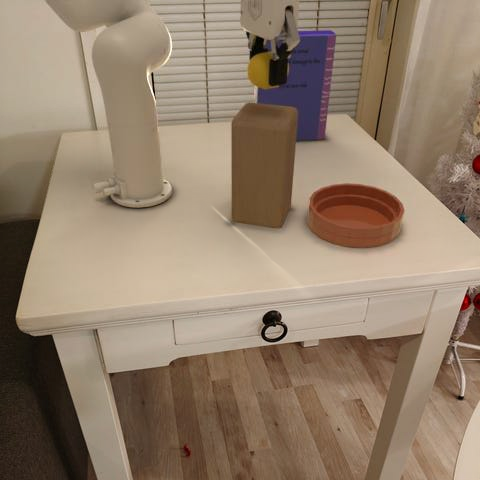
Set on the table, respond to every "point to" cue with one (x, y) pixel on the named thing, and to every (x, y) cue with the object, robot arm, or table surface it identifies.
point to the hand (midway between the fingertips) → (267, 78)
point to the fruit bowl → (355, 215)
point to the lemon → (260, 70)
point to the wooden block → (263, 163)
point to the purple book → (305, 83)
